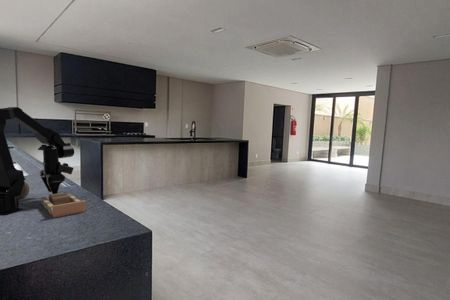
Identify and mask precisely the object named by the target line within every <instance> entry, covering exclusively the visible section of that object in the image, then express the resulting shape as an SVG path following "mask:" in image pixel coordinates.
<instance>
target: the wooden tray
mask: <svg viewBox="0 0 450 300" xmlns="http://www.w3.org/2000/svg"><path fill="white" fill-rule="evenodd" d="M67 194H68V195H69V196H70V203H71V202H77V201H81V200H80V199H78V198H77V197H76V196H75V195H73V194H71V193H67ZM41 205H42V206H43V207H44V209H45V210H46V211H48V213H49V214H50V215H51V216H52V217H53V210H52V206H54V205H53V204H52V203H51V202H50V201H49V198H46V197H41Z"/></svg>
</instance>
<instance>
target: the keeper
mask: <svg viewBox="0 0 450 300" xmlns="http://www.w3.org/2000/svg"><path fill="white" fill-rule="evenodd" d="M68 194H69V193H66V192H59V193H57V194H48V200H49V201H50V202H51V203H52V204H53V205H60V204H66V203H70V196H69V195H68Z"/></svg>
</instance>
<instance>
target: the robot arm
mask: <svg viewBox="0 0 450 300" xmlns="http://www.w3.org/2000/svg"><path fill="white" fill-rule="evenodd" d="M7 120H13V121H15V122H16V123H18V124H19V125H20V126H22V127H23V128H25V129H26V130H28V131H29V132H31V133H33V134H34V136H35V138H36V139H37V140H38V141H39V142H40V143H41V145H40V146H39V147H38V148H37V151H42V156H43V161H42V165H43V169H41V170H39V177H40V179H41V181H42V183H43V184H44V185H45V187H46V189H47V192H48V193H52V194H58V192H59V188H60V185H61V184H62V183H64V181H65V180H66V176H65V175H64V174H68V175H72V174H73V171H74V168H75V167H73V166H70V165H69V164H68V163H67V162H63V163H61V162H60V160H59V159H66V158H71V157H73V156H74V155H75V149H74V147H73V146H72V145H71V143H70V142H64V140H63V138H62V137H61V134H60V133H59V132H58V131H57V130H56V131H55V130H54V129H52V128H49V127H46V126H44V125H43V124H41V123H40V122H39V121H37V120H35V119H34V118H33V117H31V116H30V115H29V114H28V113H27V112H24V111H23V109H22V108H20V107H18V106H8V107H2V108H0V215H9V214H13V213H15V212H18V211H21V210H22V209H23V208H22V207H20V205H19V199H18V197H17V196H20V195H21V192H22V189H23V186H24V185H25V182H26V177H25V175H24V170H23V169H21V170H20V169H17V168H16V167H15V164H14V162H13V158H12V154H11V150H10V147H9V143H8V141H7V138H6V134H5V129H6V125H7ZM62 173H63V174H62Z"/></svg>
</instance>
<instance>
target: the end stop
mask: <svg viewBox="0 0 450 300" xmlns="http://www.w3.org/2000/svg"><path fill="white" fill-rule="evenodd" d="M52 210H53V216H52V218H58V217H59V218H60V217H63V216H68V215H73V214H74V215H75V214H77V213H78V214H79V213H83V212H84V213H85V212H87V201H86V200H85V199H83V200H80V201H77V202H71V203H66V204H60V205H54V206H52Z"/></svg>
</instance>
